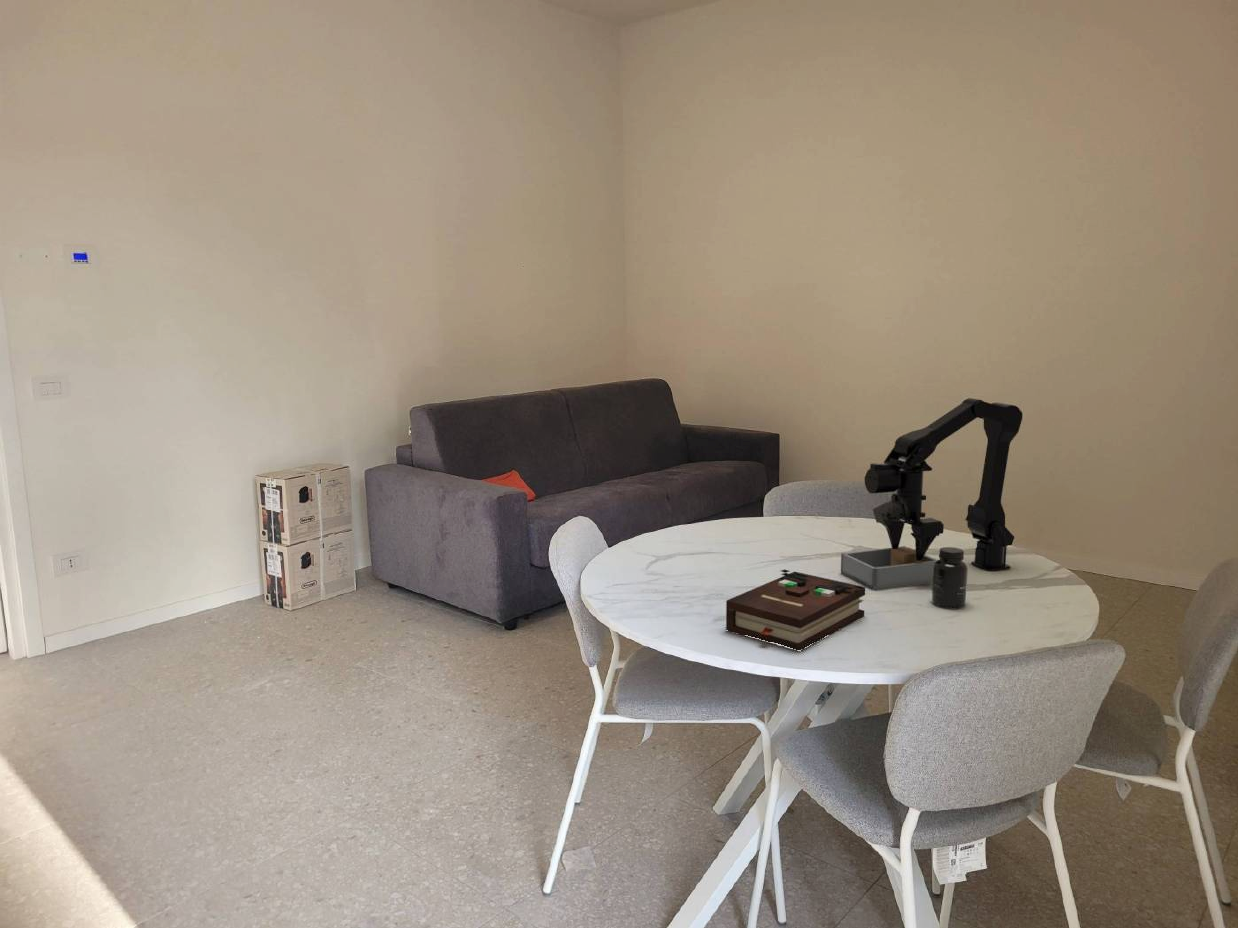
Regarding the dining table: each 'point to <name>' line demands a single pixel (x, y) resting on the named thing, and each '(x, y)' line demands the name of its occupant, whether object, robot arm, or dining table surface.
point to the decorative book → (795, 609)
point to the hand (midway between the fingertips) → (906, 555)
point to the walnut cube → (903, 556)
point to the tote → (885, 569)
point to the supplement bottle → (950, 579)
